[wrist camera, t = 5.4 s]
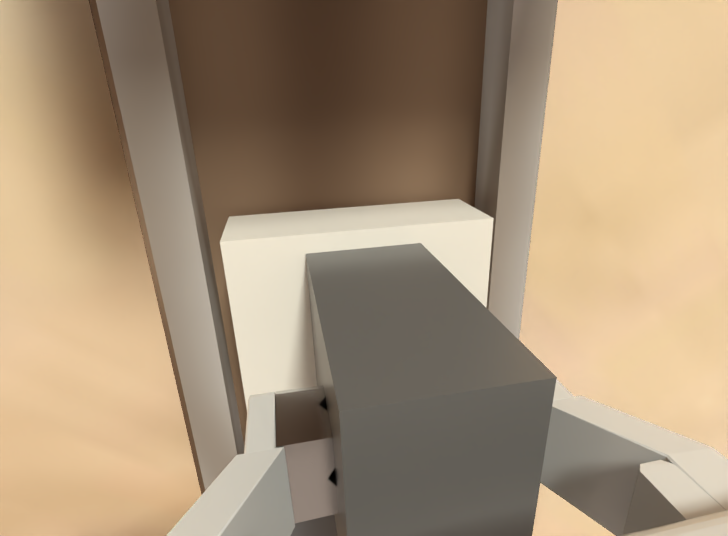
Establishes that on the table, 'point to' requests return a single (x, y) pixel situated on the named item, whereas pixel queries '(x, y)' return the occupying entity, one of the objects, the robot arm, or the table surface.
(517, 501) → the carriage
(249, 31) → the track
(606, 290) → the table surface
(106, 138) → the table surface
